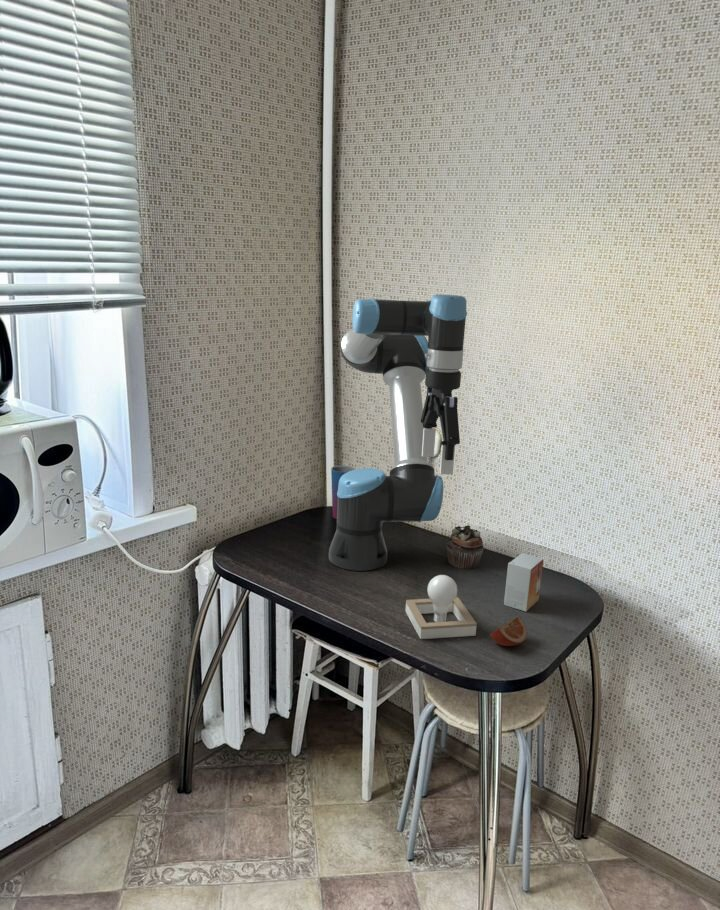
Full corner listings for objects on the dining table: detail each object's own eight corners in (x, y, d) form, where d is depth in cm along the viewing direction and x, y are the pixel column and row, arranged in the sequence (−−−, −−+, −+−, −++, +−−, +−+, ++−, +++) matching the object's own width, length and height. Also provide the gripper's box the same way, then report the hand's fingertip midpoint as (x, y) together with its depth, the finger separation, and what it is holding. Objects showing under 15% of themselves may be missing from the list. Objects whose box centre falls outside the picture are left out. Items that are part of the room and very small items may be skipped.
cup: (330, 520, 210) (331, 471, 206) (329, 512, 217) (330, 465, 213) (353, 520, 211) (355, 472, 207) (351, 512, 217) (353, 465, 213)
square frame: (405, 611, 158) (406, 599, 157) (456, 608, 161) (457, 597, 160) (420, 639, 147) (421, 626, 146) (475, 635, 149) (476, 623, 149)
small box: (526, 612, 160) (531, 569, 157) (503, 605, 163) (507, 562, 160) (539, 600, 166) (544, 558, 164) (516, 593, 170) (521, 552, 167)
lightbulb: (435, 612, 158) (439, 567, 155) (460, 622, 154) (464, 576, 151) (419, 623, 153) (422, 576, 150) (443, 633, 149) (448, 585, 147)
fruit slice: (505, 630, 152) (507, 609, 151) (532, 642, 148) (535, 621, 146) (482, 644, 146) (484, 622, 145) (511, 657, 142) (513, 635, 140)
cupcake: (489, 564, 185) (493, 528, 182) (463, 573, 179) (467, 536, 176) (462, 552, 192) (466, 517, 189) (437, 560, 186) (439, 524, 183)
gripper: (411, 360, 163) (405, 449, 169) (445, 379, 140) (437, 482, 145) (442, 360, 165) (435, 449, 170) (481, 379, 141) (472, 481, 147)
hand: (436, 464), depth 158 cm, fingers open, 13 cm apart
